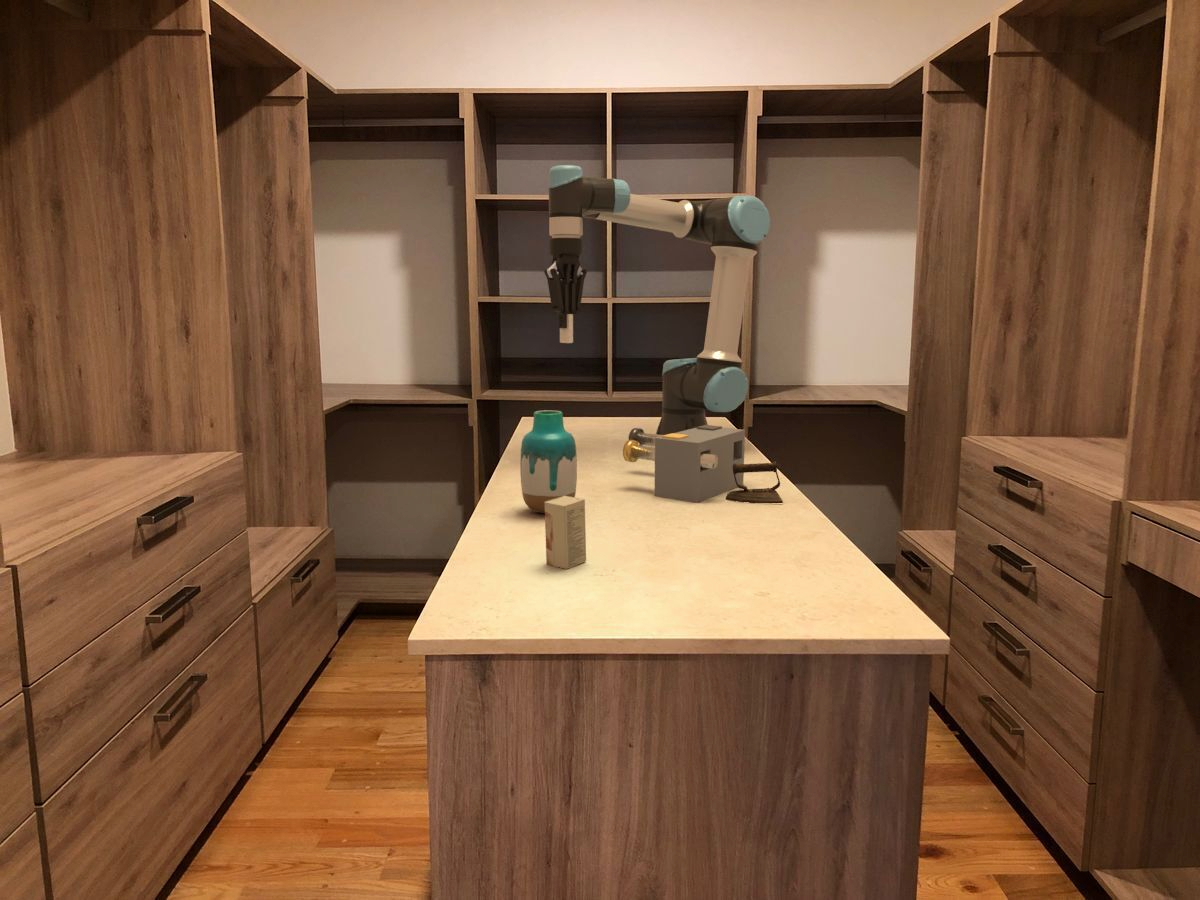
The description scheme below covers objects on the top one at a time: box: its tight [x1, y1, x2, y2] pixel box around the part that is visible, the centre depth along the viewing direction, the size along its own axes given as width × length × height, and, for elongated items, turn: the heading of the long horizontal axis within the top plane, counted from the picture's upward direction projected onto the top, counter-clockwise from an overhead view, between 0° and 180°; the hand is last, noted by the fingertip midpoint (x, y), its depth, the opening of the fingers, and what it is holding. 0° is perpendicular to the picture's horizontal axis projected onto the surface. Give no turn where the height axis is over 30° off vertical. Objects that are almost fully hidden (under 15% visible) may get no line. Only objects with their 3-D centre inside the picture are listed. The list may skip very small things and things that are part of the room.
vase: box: [520, 409, 578, 514], centre depth 166 cm, size 11×11×19 cm
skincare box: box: [544, 496, 587, 570], centre depth 136 cm, size 5×4×10 cm
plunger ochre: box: [622, 439, 718, 469], centre depth 181 cm, size 5×20×5 cm, turn 54°
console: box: [653, 424, 746, 504], centre depth 185 cm, size 20×10×12 cm, turn 144°
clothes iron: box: [725, 461, 784, 504], centre depth 177 cm, size 7×11×10 cm, turn 88°
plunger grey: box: [628, 427, 663, 447], centre depth 197 cm, size 5×20×5 cm, turn 54°
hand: (566, 342), depth 204 cm, fingers closed
